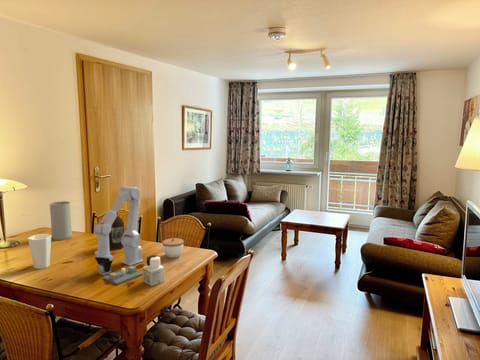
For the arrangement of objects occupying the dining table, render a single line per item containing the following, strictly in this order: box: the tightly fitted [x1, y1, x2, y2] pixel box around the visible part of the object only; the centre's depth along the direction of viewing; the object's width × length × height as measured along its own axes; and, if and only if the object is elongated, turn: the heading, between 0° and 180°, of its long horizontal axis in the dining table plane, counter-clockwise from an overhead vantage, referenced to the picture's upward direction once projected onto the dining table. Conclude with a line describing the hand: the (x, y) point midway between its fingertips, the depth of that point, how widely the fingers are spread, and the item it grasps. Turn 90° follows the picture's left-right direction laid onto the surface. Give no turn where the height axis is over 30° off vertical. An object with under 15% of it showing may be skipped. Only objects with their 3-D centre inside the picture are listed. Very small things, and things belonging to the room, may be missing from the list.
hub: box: [97, 263, 112, 277], centre depth 180 cm, size 5×5×5 cm
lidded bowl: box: [161, 237, 185, 259], centre depth 206 cm, size 13×13×11 cm
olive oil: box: [109, 211, 125, 250], centre depth 220 cm, size 11×11×25 cm
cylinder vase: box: [49, 200, 73, 241], centre depth 241 cm, size 12×12×25 cm
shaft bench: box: [102, 265, 143, 286], centre depth 176 cm, size 15×12×4 cm
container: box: [142, 254, 166, 287], centre depth 170 cm, size 8×8×13 cm
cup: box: [27, 233, 52, 270], centre depth 188 cm, size 11×10×17 cm
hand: (104, 270), depth 181 cm, fingers closed on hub, 5 cm apart
